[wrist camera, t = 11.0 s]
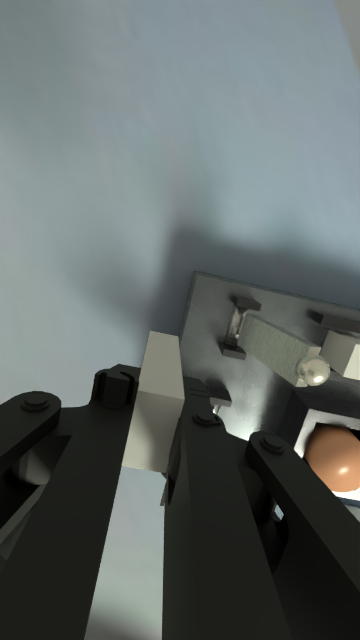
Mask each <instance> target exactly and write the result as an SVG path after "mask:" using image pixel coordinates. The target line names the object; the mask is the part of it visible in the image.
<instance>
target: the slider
mask: <svg viewBox="0 0 360 640" xmlns="http://www.w3.org/2000/svg"><path fill="white" fill-rule="evenodd" d="M320 356H322V357H323V358H324V359H325V360H326V361H327V362H328V364H329V366H330V367H331V368H332V369H334V370H335V371H336V372H338V373H339V374H340V375H341V376H343V377H347V378H351V379H356V380H360V338H359V337H357V336H355V335H351V334H347V333H342V332H338V331H334V330H329V331H328V334H327V336H326V339H325V342H324V344H323V347H322V350H321V352H320Z"/></svg>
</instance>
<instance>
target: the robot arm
mask: <svg viewBox="0 0 360 640" xmlns="http://www.w3.org/2000/svg"><path fill="white" fill-rule="evenodd" d="M168 462H169V472H168V476H167V480H166V484H165V488H164V492H163V496H162V499H161V503H160V506H164V503H165V515H164V563H163V612H162V640H360V522H359V521H358V520H357V519H356V517H355V516H354V515H353V514H352V513H351V512H350V511H349V510H348V509H347V508H346V506H345V505H344V504H343V503H342V502H341V501H340V500H339V499H338V498H337V497H336V495H335V494H334V493H333V492H332V491H331V490H330V489H329V488H328V487H327V485H326V484H325V483H324V482H323V481H322V480H321V479H320V478H319V477H318V476H317V474H316V473H315V472H314V471H313V470H312V469H311V468H310V467H309V466H308V464H307V463H306V462H305V461H304V460H303V459H302V458H301V457H300V456H299V455H298V453H297V452H296V451H295V450H294V449H293V448H292V447H291V446H290V445H289V444H288V443H287V442H286V441H285V440H283V439H282V438H280V437H278V436H277V435H275V434H273V433H270V432H264V431H255V432H253V433H252V434H250V437H249V440H248V441H247V440H244V439H242V438H239V437H237V436H234V435H232V434H230V433H228V432H227V431H226V427H225V424H224V422H223V420H222V419H221V418H220V417H219V416H218V415H217V414H215V413H213V411H212V407H211V403H210V399H209V396H208V393H207V388H206V385H205V384H204V383H203V382H202V381H201V380H200V379H197V378H192V377H187V376H182V369H181V359H180V349H179V340H178V336H174V335H169V334H164V333H159V332H155V331H150V334H149V338H148V343H147V347H146V351H145V355H144V360H143V364H142V368H137V367H132V366H127V365H122V364H117V365H116V366H114V367H112V368H111V369H103V370H100V371H98V372H97V373H96V374H95V378H94V384H93V389H92V395H91V400H90V401H89V403H88V405H85V406H81V407H69V408H61V400H60V399H59V398H58V397H57V396H55V395H53V394H51V393H47V392H43V391H39V392H37V391H32V392H27V393H22V394H20V395H17V396H15V397H13V398H11V399H10V400H8V401H6V402H4V403H3V404H1V405H0V640H84V637H85V633H86V628H87V623H88V619H89V614H90V609H91V605H92V600H93V596H94V591H95V586H96V582H97V577H98V573H99V568H100V563H101V559H102V554H103V549H104V545H105V540H106V536H107V531H108V526H109V522H110V517H111V512H112V508H113V503H114V499H115V494H116V489H117V485H118V480H119V475H120V471H121V466H126V467H132V468H138V469H144V470H150V471H156V472H162V473H166V470H167V466H168ZM277 504H278V506H279V507H280V509H281V511H282V512H283V514H284V515H283V518H282V520H280V519H279V517H278V516H277V514H276V513H275V508H276V505H277Z"/></svg>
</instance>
